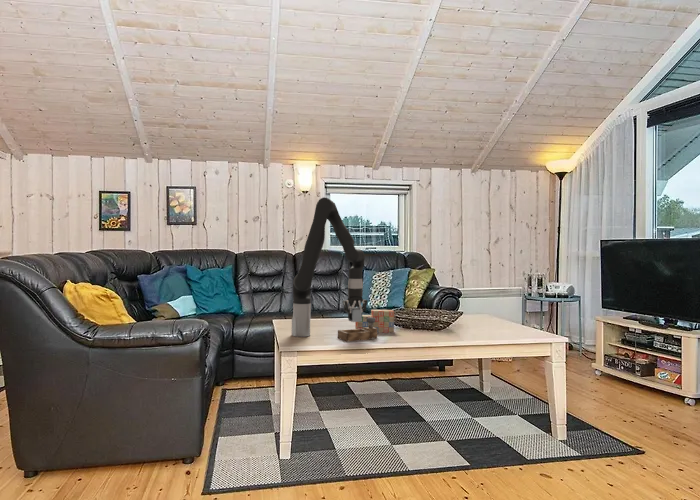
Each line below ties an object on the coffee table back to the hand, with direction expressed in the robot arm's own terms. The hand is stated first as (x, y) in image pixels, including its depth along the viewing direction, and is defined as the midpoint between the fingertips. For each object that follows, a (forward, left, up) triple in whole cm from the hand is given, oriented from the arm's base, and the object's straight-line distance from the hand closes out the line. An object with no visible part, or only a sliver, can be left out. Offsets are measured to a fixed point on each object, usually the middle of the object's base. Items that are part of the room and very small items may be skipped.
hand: (355, 319), depth 261 cm
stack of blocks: (+21, +16, -10) cm, 28 cm away
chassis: (+2, 0, -10) cm, 10 cm away
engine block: (0, 0, -1) cm, 1 cm away
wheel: (+9, 0, -2) cm, 10 cm away
